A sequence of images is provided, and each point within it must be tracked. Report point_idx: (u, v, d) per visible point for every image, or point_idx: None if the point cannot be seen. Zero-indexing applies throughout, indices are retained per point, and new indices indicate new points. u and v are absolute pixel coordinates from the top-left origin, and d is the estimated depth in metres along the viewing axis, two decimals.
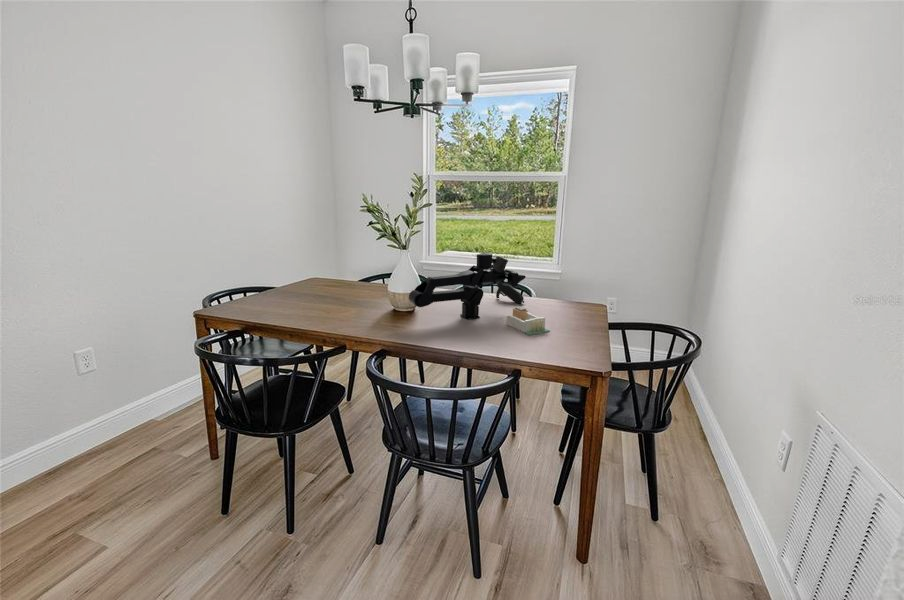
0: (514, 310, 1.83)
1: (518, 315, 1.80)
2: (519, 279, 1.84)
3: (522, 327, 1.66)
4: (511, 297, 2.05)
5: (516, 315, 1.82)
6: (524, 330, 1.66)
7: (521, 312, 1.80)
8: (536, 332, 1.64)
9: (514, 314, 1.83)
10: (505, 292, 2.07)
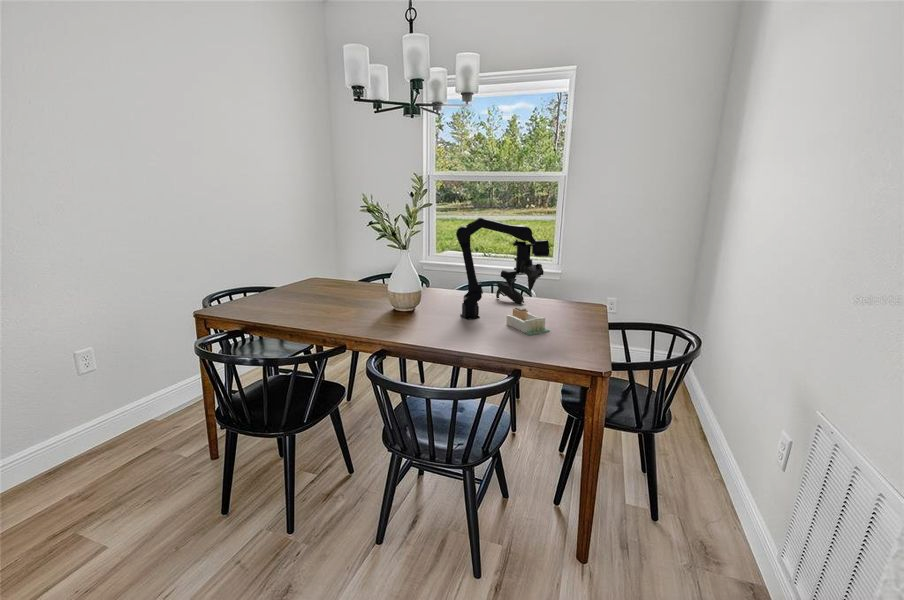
0: (514, 310, 1.83)
1: (518, 315, 1.80)
2: (509, 284, 1.77)
3: (522, 327, 1.66)
4: (511, 297, 2.05)
5: (516, 315, 1.82)
6: (524, 330, 1.66)
7: (521, 312, 1.80)
8: (536, 332, 1.64)
9: (514, 314, 1.83)
10: (505, 292, 2.07)
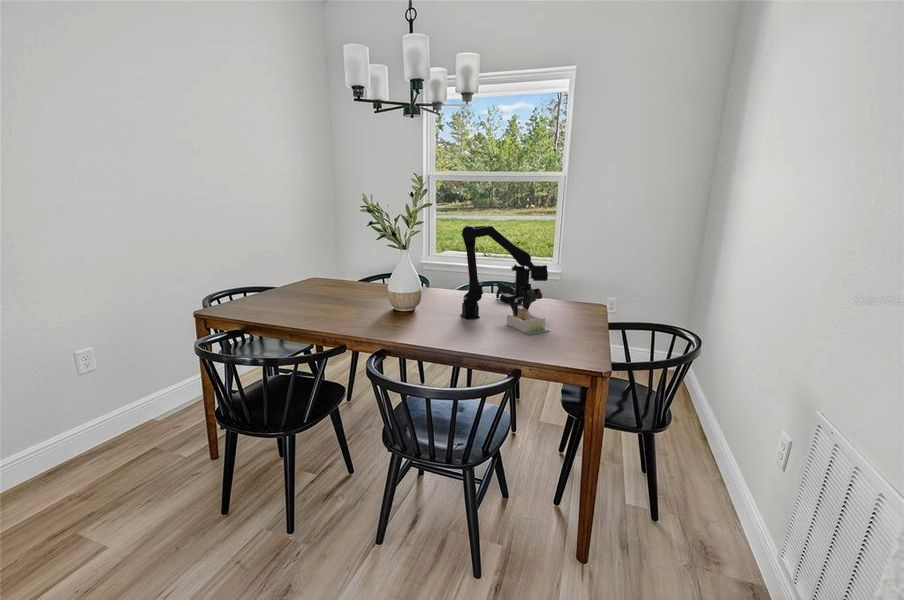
0: None
1: (519, 315, 1.80)
2: (512, 307, 1.81)
3: (522, 327, 1.66)
4: None
5: None
6: (524, 330, 1.66)
7: (521, 312, 1.80)
8: (536, 332, 1.64)
9: None
10: (505, 292, 2.07)
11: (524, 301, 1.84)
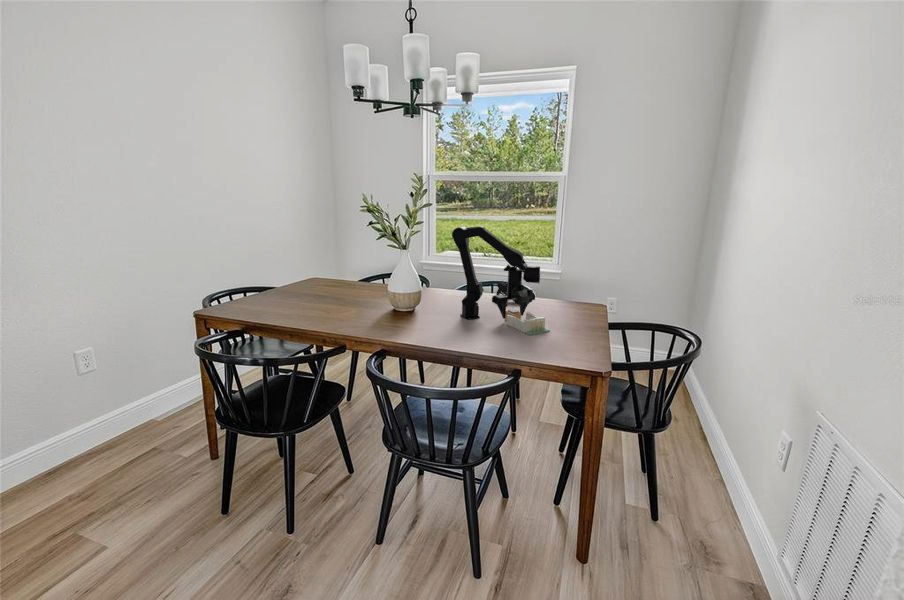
0: (506, 313, 1.79)
1: None
2: (501, 309, 1.76)
3: (522, 327, 1.66)
4: None
5: None
6: (524, 330, 1.66)
7: (513, 315, 1.76)
8: (536, 332, 1.64)
9: (506, 317, 1.80)
10: (505, 292, 2.07)
11: None
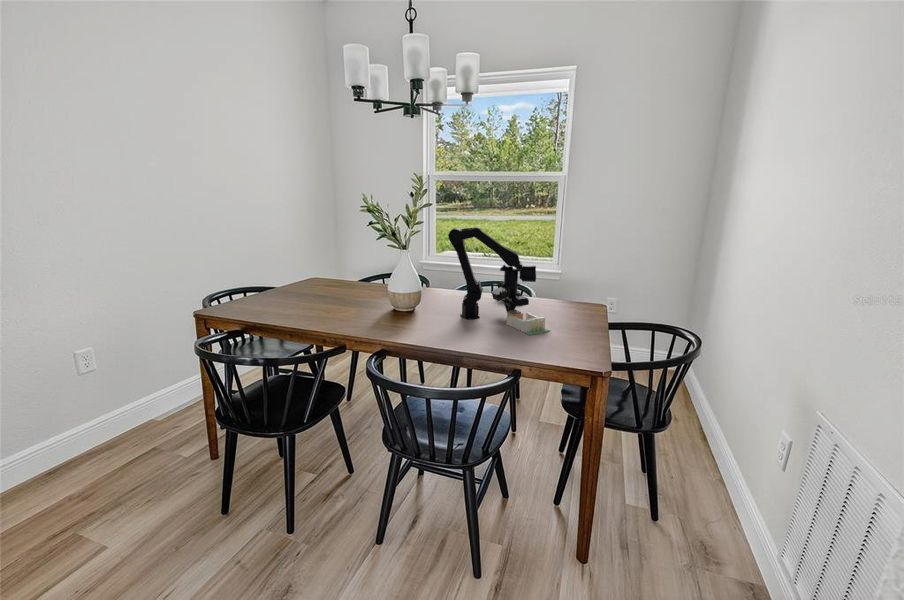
0: (508, 313, 1.78)
1: None
2: None
3: (522, 327, 1.66)
4: None
5: None
6: (524, 330, 1.66)
7: (515, 315, 1.75)
8: (536, 332, 1.64)
9: None
10: None
11: None
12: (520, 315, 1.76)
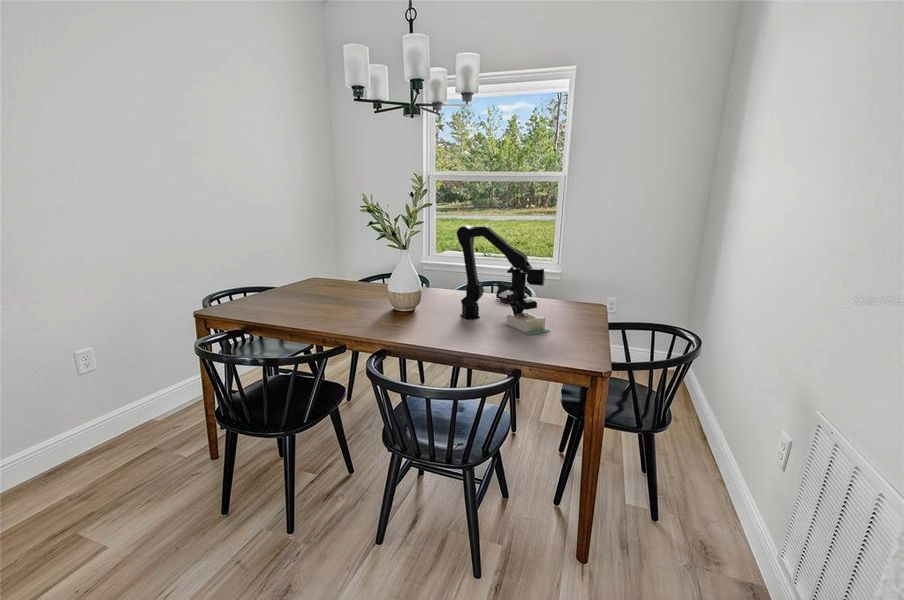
0: None
1: None
2: None
3: (522, 327, 1.66)
4: None
5: None
6: (524, 330, 1.66)
7: (523, 319, 1.70)
8: (536, 332, 1.64)
9: None
10: None
11: None
12: (528, 319, 1.72)
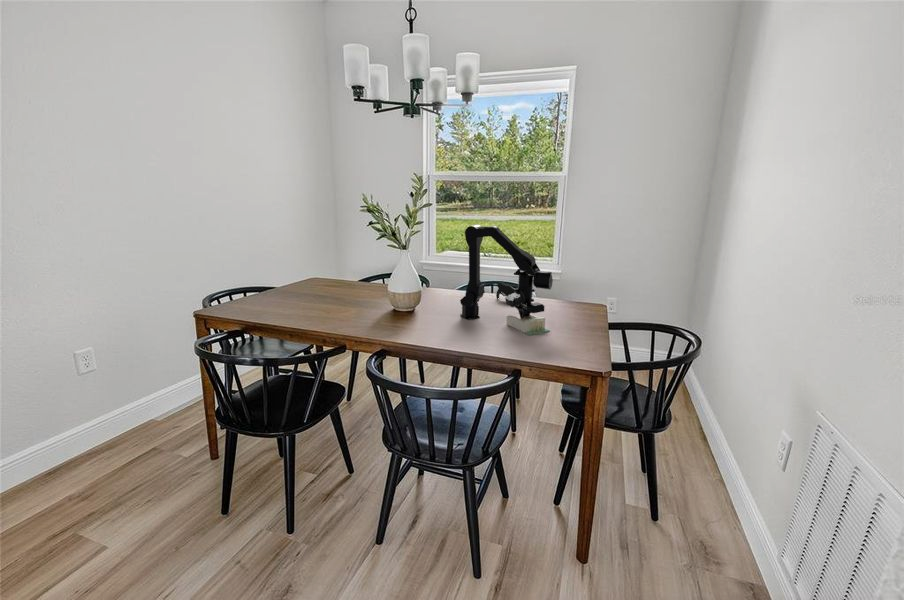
0: (523, 320, 1.69)
1: None
2: None
3: (522, 327, 1.66)
4: None
5: None
6: (524, 330, 1.66)
7: None
8: (536, 332, 1.64)
9: None
10: (505, 292, 2.07)
11: None
12: None
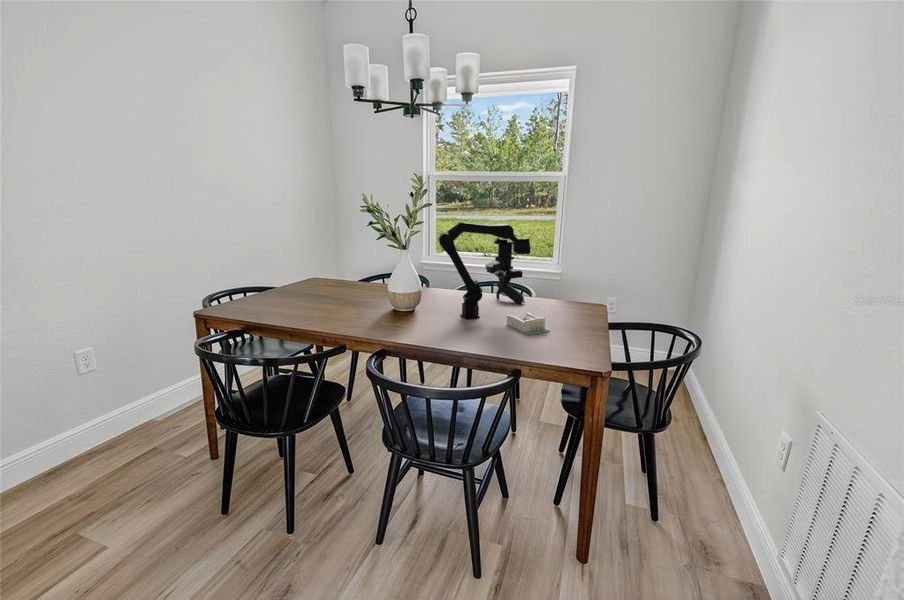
0: (523, 320, 1.69)
1: None
2: None
3: (522, 327, 1.66)
4: (511, 297, 2.05)
5: None
6: (524, 330, 1.66)
7: None
8: (536, 332, 1.64)
9: None
10: (505, 292, 2.06)
11: None
12: None
